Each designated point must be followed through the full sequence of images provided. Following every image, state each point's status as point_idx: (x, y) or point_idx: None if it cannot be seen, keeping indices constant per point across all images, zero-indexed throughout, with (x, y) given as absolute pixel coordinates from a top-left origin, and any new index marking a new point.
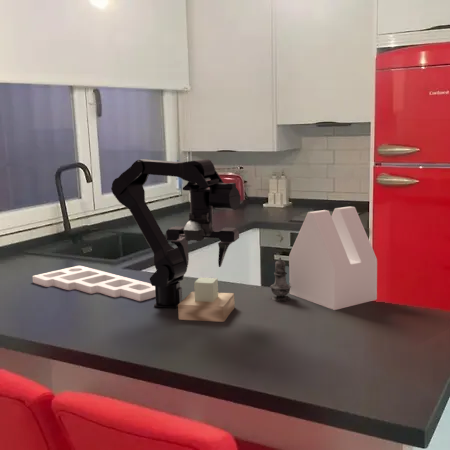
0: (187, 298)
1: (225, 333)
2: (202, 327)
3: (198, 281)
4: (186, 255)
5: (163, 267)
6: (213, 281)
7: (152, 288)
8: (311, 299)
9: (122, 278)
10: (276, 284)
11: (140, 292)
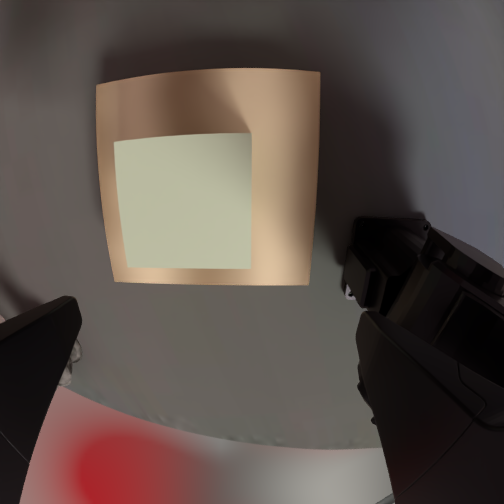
0: (302, 174)
1: (102, 2)
2: (186, 20)
3: (226, 168)
4: (396, 380)
5: (498, 272)
6: (122, 186)
7: None
8: (1, 322)
9: None
10: None
11: None
